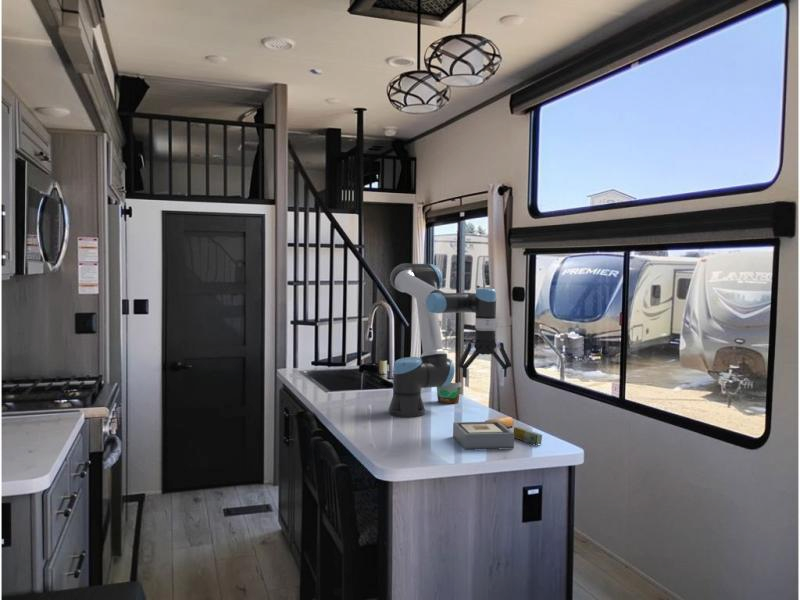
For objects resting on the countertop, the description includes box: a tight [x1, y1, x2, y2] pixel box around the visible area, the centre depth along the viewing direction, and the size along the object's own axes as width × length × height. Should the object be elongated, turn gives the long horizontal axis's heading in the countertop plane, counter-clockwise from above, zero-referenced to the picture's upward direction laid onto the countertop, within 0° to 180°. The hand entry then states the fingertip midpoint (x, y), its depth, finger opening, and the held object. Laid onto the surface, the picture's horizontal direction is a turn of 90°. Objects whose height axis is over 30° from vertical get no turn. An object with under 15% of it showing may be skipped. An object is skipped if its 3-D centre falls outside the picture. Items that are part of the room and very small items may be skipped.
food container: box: [436, 381, 463, 405], centre depth 288 cm, size 12×6×10 cm, turn 76°
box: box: [452, 421, 515, 451], centre depth 224 cm, size 17×17×6 cm
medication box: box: [512, 426, 543, 446], centre depth 227 cm, size 12×3×4 cm, turn 33°
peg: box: [484, 416, 514, 428], centre depth 245 cm, size 4×4×12 cm
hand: (484, 386), depth 239 cm, fingers open, 13 cm apart
